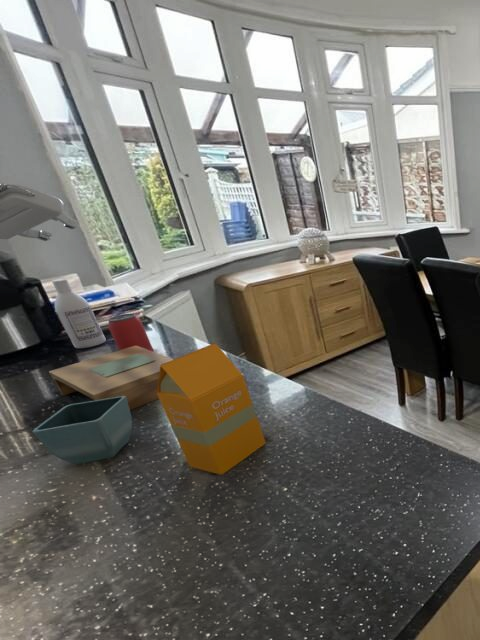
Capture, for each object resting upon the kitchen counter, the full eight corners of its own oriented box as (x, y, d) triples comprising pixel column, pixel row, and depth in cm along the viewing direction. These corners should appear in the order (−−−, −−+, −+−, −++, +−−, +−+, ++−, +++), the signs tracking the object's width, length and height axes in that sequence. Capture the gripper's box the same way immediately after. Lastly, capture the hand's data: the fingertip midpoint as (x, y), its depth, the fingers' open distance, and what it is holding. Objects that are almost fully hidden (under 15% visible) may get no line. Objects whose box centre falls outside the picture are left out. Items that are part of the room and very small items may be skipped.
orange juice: (266, 443, 73) (233, 344, 65) (221, 475, 65) (177, 368, 57) (235, 435, 75) (199, 340, 67) (187, 466, 67) (141, 362, 59)
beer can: (145, 351, 113) (128, 312, 109) (160, 354, 111) (143, 314, 106) (118, 360, 108) (99, 319, 103) (133, 364, 106) (114, 322, 101)
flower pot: (88, 444, 73) (66, 404, 70) (145, 434, 76) (126, 394, 73) (56, 476, 66) (29, 432, 62) (121, 463, 68) (98, 420, 65)
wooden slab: (106, 419, 81) (93, 394, 79) (61, 394, 91) (48, 370, 89) (193, 385, 94) (183, 361, 92) (144, 365, 104) (135, 344, 102)
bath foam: (113, 340, 122) (83, 277, 114) (89, 349, 116) (56, 283, 108) (92, 339, 123) (62, 277, 115) (68, 349, 116) (33, 283, 108)
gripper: (8, 168, 80) (95, 207, 92) (-54, 201, 84) (37, 233, 97) (1, 194, 78) (90, 229, 90) (-62, 226, 82) (32, 255, 95)
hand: (62, 231), depth 94 cm, fingers open, 8 cm apart
